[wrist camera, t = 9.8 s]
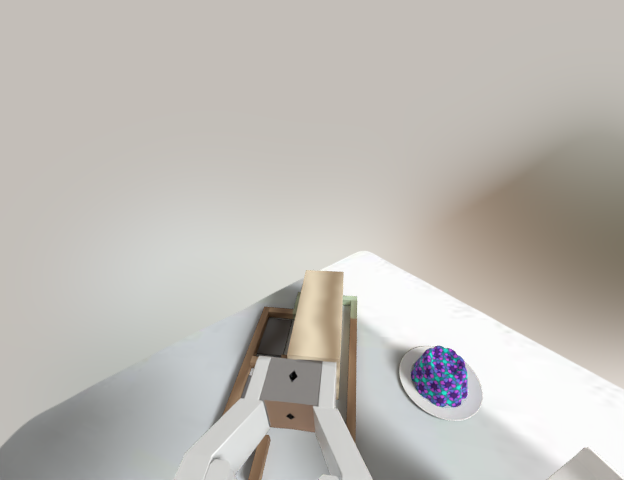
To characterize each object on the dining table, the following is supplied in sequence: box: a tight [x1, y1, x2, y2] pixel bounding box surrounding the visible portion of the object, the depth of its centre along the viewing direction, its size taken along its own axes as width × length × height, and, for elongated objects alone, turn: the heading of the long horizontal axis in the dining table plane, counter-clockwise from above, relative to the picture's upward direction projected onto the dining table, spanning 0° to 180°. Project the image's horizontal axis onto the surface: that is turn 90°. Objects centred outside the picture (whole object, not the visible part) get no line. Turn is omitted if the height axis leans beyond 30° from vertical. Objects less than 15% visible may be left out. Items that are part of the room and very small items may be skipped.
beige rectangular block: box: [287, 270, 343, 400], centre depth 47 cm, size 7×18×10 cm, turn 173°
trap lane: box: [222, 292, 357, 480], centre depth 46 cm, size 18×32×2 cm, turn 172°
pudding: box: [399, 346, 483, 421], centre depth 42 cm, size 12×12×5 cm
